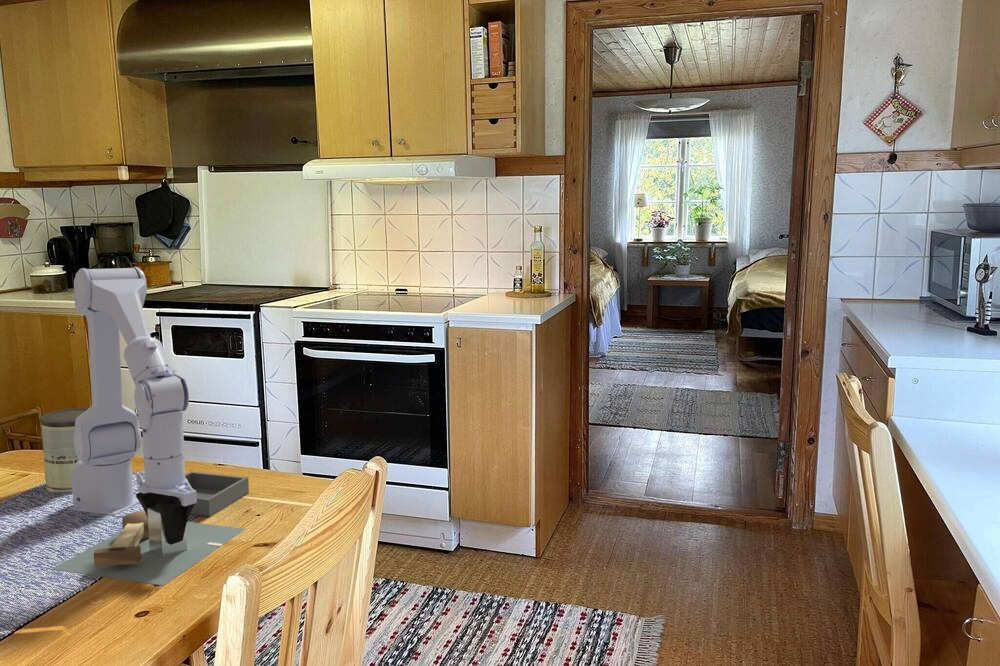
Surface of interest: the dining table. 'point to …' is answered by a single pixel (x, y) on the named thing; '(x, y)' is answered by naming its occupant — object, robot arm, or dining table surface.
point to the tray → (215, 491)
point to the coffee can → (59, 448)
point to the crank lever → (125, 542)
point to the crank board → (155, 556)
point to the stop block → (162, 536)
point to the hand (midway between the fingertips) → (167, 538)
